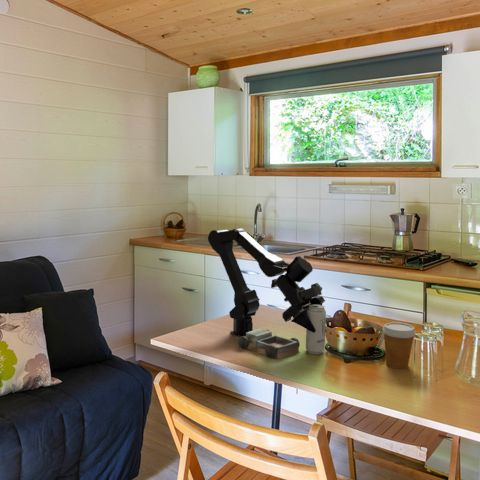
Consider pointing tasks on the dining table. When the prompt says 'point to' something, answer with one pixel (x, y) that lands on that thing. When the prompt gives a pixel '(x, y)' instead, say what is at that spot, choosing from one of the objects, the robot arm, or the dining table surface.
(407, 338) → the disposable coffee cup
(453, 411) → the dining table surface
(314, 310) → the energy drink can
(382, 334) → the frog figurine
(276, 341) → the chassis
